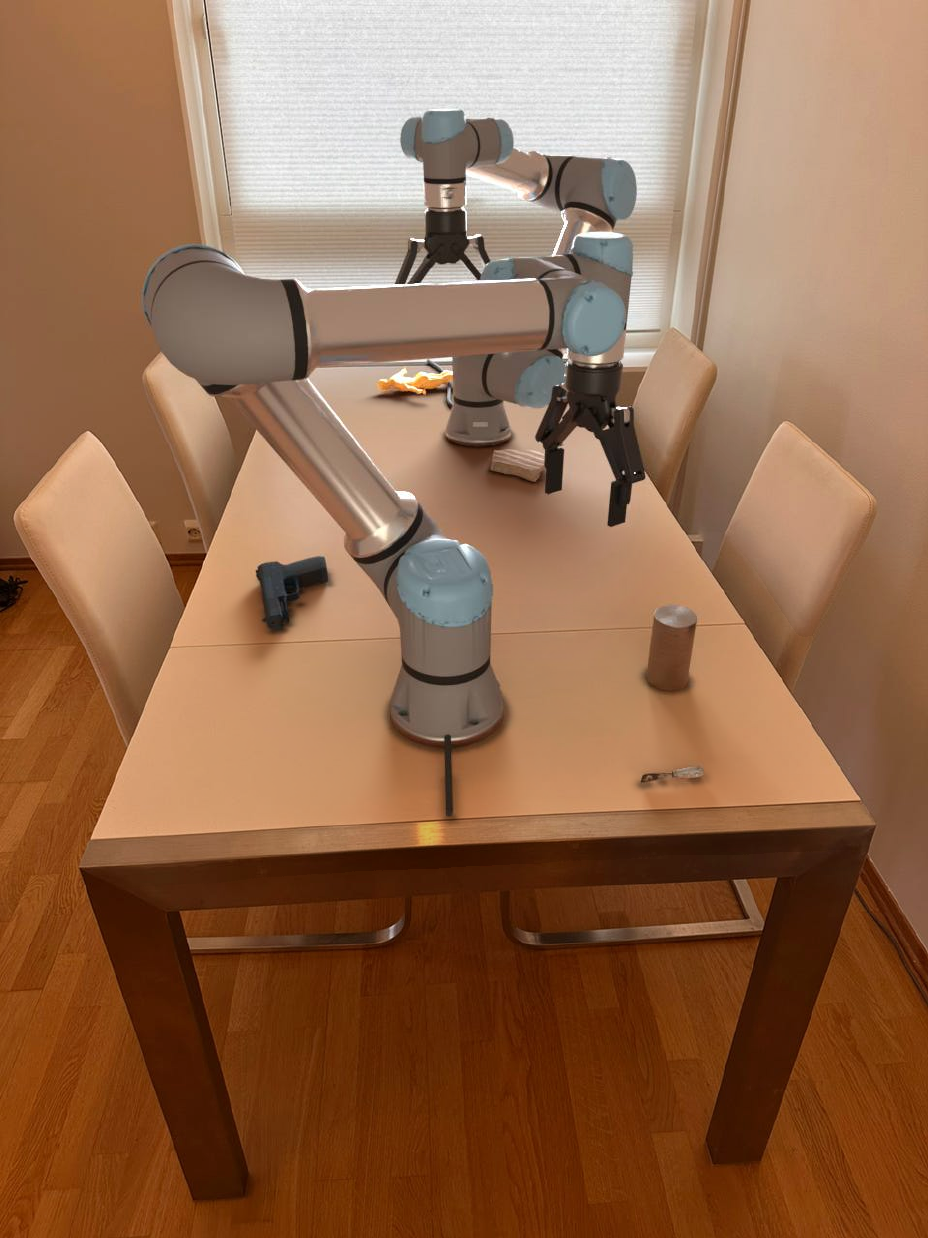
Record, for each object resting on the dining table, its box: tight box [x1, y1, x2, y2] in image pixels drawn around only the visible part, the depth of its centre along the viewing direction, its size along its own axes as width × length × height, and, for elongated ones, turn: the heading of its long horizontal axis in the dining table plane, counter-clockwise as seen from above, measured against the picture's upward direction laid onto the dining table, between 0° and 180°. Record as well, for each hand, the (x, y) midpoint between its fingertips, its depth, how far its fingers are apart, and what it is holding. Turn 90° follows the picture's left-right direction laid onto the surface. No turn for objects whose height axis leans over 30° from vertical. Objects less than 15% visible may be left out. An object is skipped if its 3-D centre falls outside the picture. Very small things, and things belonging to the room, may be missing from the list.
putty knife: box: [640, 765, 705, 784], centre depth 109 cm, size 1×8×2 cm, turn 103°
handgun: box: [255, 555, 329, 631], centre depth 146 cm, size 3×17×12 cm
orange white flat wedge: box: [377, 365, 453, 395], centre depth 240 cm, size 20×20×4 cm
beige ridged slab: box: [489, 448, 545, 483], centre depth 192 cm, size 13×12×2 cm
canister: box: [645, 604, 698, 692], centre depth 124 cm, size 6×6×11 cm
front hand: (583, 507), depth 129 cm, fingers open, 13 cm apart
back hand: (448, 328), depth 171 cm, fingers open, 13 cm apart
